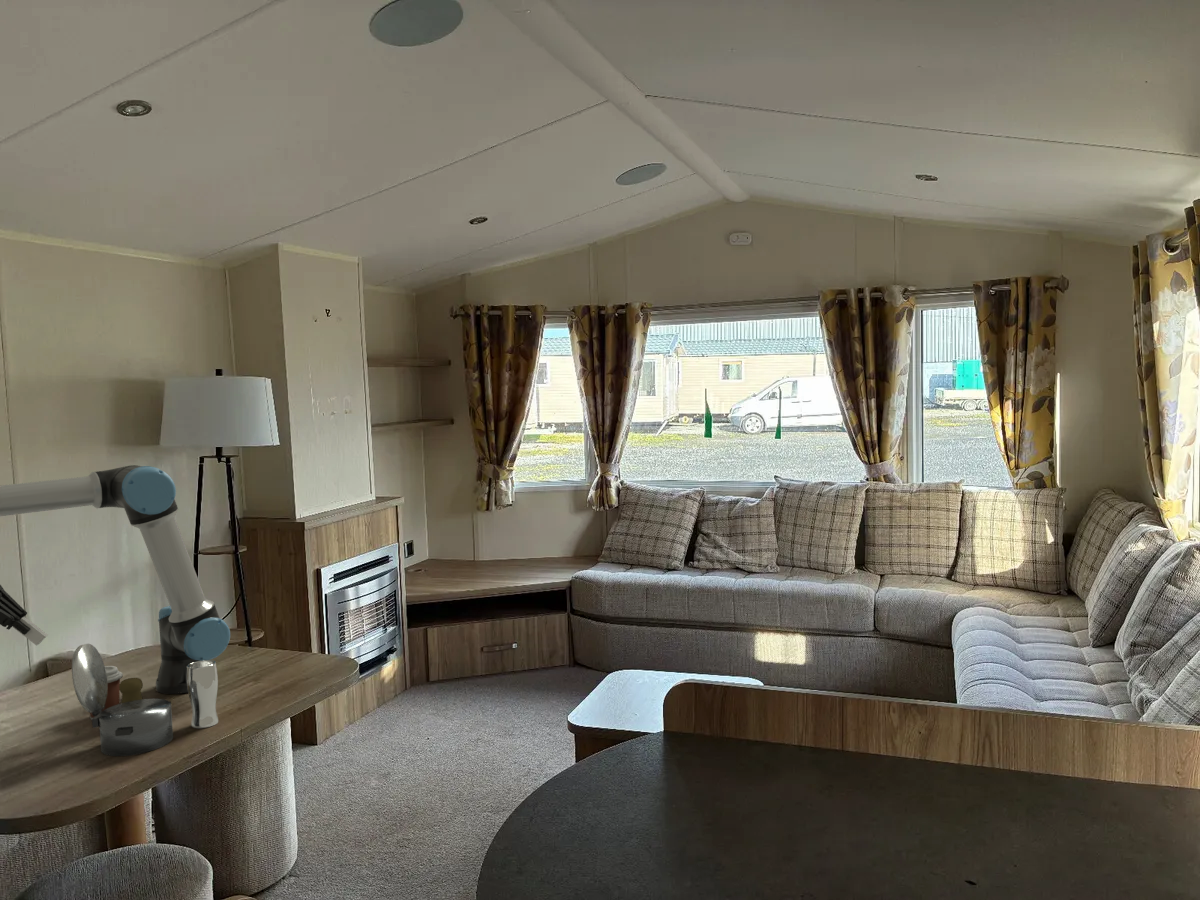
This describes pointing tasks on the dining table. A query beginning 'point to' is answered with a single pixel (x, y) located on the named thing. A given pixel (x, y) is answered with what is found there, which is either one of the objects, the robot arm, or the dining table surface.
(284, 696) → the dining table surface
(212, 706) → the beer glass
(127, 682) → the cork
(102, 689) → the lid
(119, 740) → the cooker pot
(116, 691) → the coffee cup
